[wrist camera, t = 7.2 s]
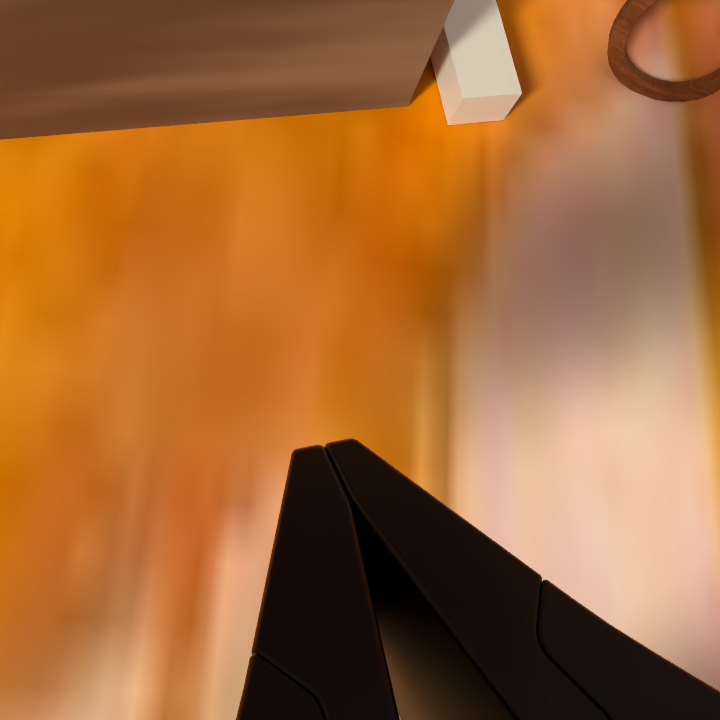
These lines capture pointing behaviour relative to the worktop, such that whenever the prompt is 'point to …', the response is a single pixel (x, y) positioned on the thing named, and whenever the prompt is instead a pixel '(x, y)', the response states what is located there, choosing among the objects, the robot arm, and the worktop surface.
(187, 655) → the worktop surface
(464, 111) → the t outline
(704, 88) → the glasses
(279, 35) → the t block
